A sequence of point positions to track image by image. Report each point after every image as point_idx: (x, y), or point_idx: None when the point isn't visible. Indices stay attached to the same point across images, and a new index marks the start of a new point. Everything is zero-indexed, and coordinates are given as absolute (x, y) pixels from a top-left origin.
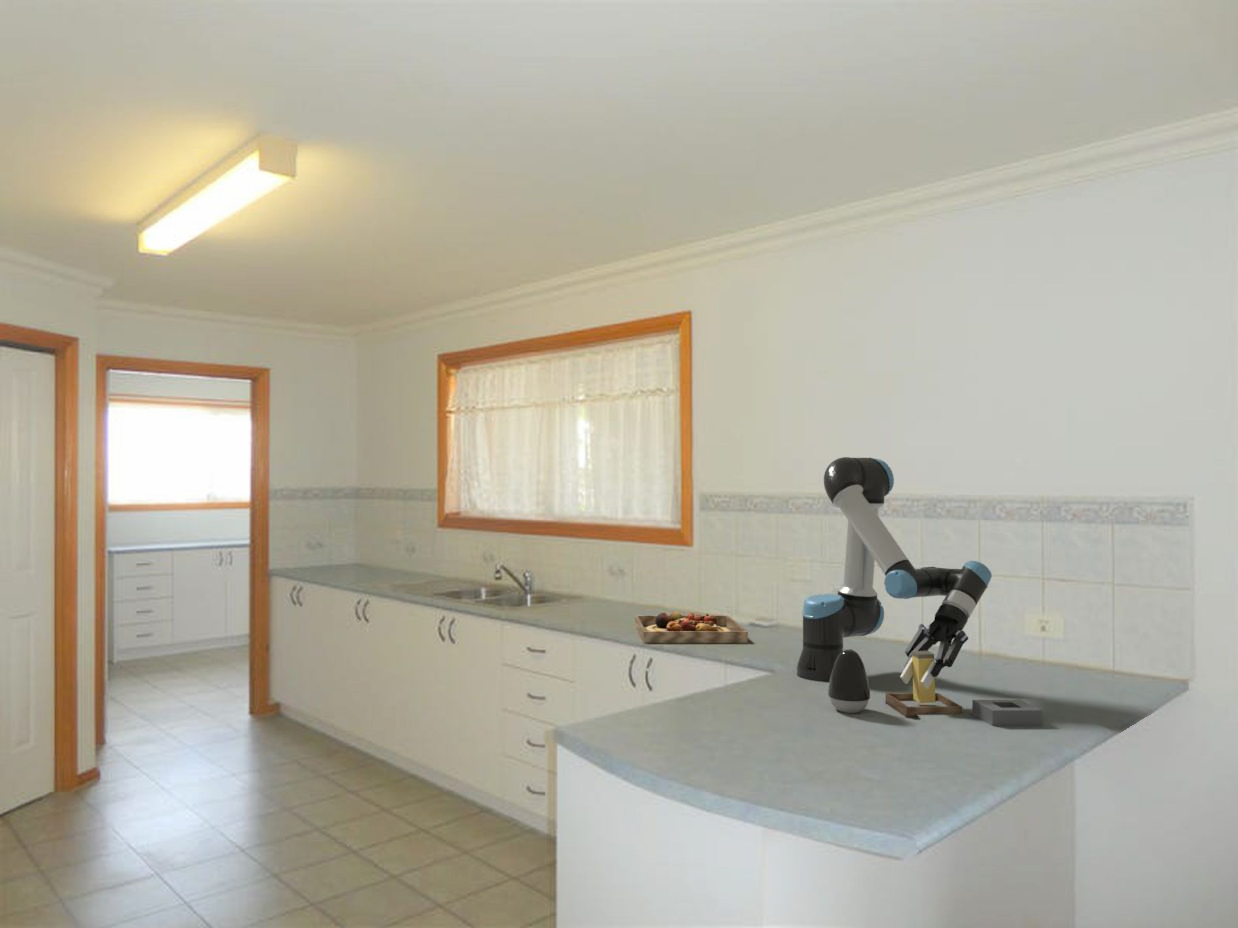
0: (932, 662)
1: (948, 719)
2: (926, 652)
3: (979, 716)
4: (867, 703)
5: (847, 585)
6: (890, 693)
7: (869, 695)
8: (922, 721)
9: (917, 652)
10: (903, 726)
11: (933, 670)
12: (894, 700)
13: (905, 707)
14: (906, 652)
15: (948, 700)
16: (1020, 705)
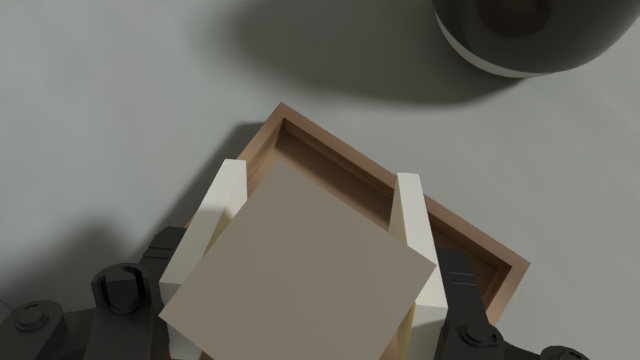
0: (182, 270)
1: (146, 244)
2: (272, 328)
3: (3, 318)
4: (443, 31)
5: None
6: (512, 281)
7: (441, 7)
8: (207, 122)
9: (349, 253)
10: (219, 4)
11: (174, 245)
12: None
13: (293, 112)
14: (558, 353)
15: None
16: None
